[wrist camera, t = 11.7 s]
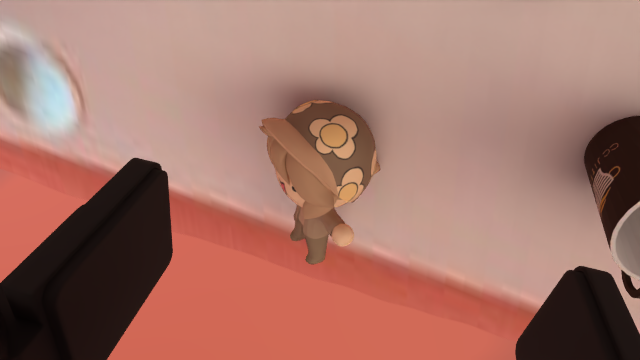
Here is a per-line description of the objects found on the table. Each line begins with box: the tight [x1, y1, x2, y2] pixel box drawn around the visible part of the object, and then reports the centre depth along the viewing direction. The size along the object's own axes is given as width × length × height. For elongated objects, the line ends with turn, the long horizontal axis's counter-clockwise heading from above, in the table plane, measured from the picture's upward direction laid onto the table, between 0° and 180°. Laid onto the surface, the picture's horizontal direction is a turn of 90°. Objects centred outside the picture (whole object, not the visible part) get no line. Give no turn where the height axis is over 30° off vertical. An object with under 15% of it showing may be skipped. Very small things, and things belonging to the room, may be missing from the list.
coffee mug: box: [584, 116, 640, 298], centre depth 32 cm, size 12×9×10 cm
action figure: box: [259, 100, 380, 265], centre depth 38 cm, size 10×11×15 cm
